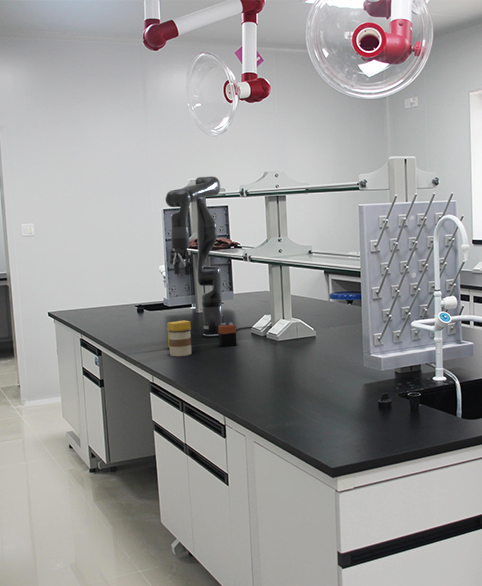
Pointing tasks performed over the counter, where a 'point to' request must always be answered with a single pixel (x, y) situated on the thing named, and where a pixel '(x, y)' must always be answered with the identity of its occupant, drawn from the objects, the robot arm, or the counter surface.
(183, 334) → the striped brown canister
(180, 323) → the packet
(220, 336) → the battery
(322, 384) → the counter surface
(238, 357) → the counter surface
